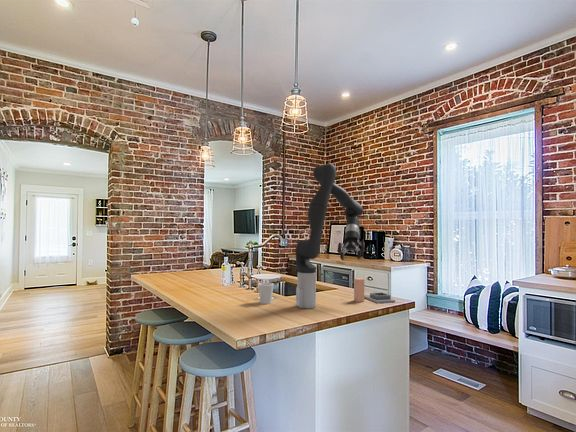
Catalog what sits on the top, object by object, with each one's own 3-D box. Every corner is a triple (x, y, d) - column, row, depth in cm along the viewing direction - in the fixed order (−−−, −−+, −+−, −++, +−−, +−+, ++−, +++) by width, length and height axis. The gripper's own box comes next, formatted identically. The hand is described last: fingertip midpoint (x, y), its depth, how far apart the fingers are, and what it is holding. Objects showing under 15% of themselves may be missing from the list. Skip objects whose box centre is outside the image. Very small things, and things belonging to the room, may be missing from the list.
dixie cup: (274, 301, 178) (274, 282, 179) (272, 304, 170) (272, 285, 170) (259, 300, 179) (259, 282, 180) (256, 304, 171) (256, 284, 171)
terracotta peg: (357, 302, 178) (357, 279, 179) (354, 300, 182) (354, 278, 183) (364, 301, 180) (364, 279, 180) (360, 300, 183) (360, 278, 184)
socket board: (377, 303, 176) (377, 297, 176) (362, 297, 190) (362, 292, 190) (395, 302, 179) (395, 296, 179) (379, 296, 193) (379, 291, 193)
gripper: (337, 231, 184) (334, 256, 174) (363, 228, 178) (361, 254, 168) (341, 239, 189) (339, 263, 179) (366, 236, 183) (365, 261, 173)
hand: (350, 259), depth 174 cm, fingers open, 8 cm apart
